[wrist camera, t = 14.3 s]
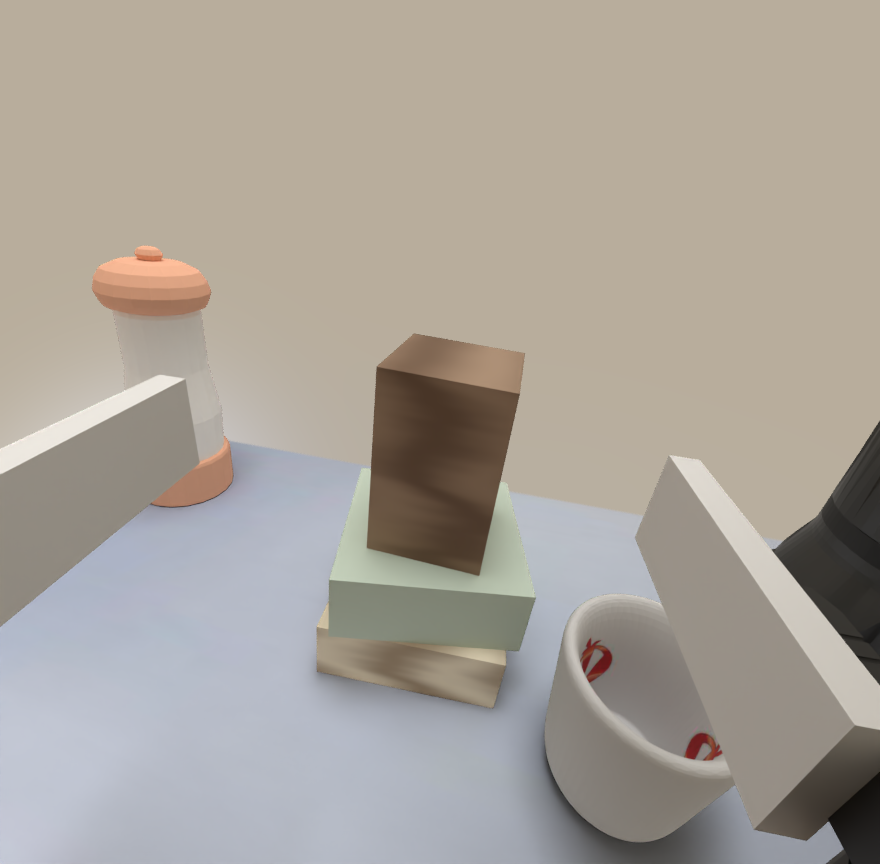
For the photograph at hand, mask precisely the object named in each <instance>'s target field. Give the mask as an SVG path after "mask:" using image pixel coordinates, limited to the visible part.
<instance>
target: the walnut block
mask: <svg viewBox="0 0 880 864" xmlns="http://www.w3.org/2000/svg"><path fill="white" fill-rule="evenodd" d="M524 356H525V353H520V352H514V351H509V350H504V349H498V348H492V347H487V346H481V345H475V344H470V343H464V342H459V341H453V340H447V339H442V338H436V337H431V336H425V335H419V334H413V335H412V336H411V337H410V338H408V339H407V340H406V341H405V342H404V343H403V344H402V345H401V346H400V347H398V348H397V349H396V350H395V351H394V352H393V353H392V354H390V355H389V356H388V357H387V358H386V359H385V360H384V361H383V362H381V363H380V364H379V365H378V366H377V372H376V390H375V407H374V424H373V443H372V460H371V478H370V496H369V514H368V532H367V548H369V549H373V550H377V551H381V552H385V553H389V554H393V555H397V556H401V557H405V558H409V559H413V560H417V561H421V562H425V563H429V564H433V565H437V566H441V567H445V568H449V569H453V570H457V571H461V572H465V573H469V574H473V575H477V576H479V575H480V570H481V566H482V561H483V557H484V552H485V548H486V543H487V539H488V534H489V530H490V525H491V521H492V516H493V512H494V507H495V503H496V498H497V494H498V489H499V485H500V480H501V475H502V471H503V466H504V462H505V458H506V453H507V449H508V444H509V440H510V435H511V431H512V426H513V421H514V417H515V413H516V408H517V404H518V399H519V395H520V387H521V380H522V372H523V364H524Z"/></svg>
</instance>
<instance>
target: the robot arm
mask: <svg viewBox="0 0 880 864" xmlns="http://www.w3.org/2000/svg"><path fill="white" fill-rule="evenodd" d="M199 463H200V461H199V455H198V450H197V444H196V438H195V432H194V426H193V420H192V414H191V408H190V403H189V397H188V391H187V385H186V379H184V378H178V377H171V376H165V375H157V376H155V377H153V378H151V379H149V380H147V381H145V382H142V383H140V384H138V385H136V386H134V387H132V388H130V389H127V390H125V391H123V392H121V393H119V394H117V395H115V396H113V397H110V398H108V399H106V400H104V401H102V402H99V403H97V404H95V405H93V406H91V407H89V408H87V409H85V410H82V411H80V412H78V413H76V414H74V415H72V416H69V417H68V418H65V419H63V420H61V421H59V422H57V423H54V424H52V425H50V426H48V427H46V428H44V429H42V430H39V431H37V432H35V433H33V434H31V435H29V436H27V437H25V438H22V439H20V440H18V441H16V442H14V443H12V444H9V445H7V446H5V447H3V448H1V449H0V627H1V626H2V625H3V624H4V623H6V622H7V621H8V620H9V619H10V618H12V617H13V616H14V615H15V614H17V613H18V612H19V611H20V610H21V609H23V608H24V607H25V606H26V605H28V604H29V603H30V602H31V601H32V600H34V599H35V598H36V597H37V596H39V595H40V594H41V593H42V592H43V591H45V590H46V589H47V588H48V587H50V586H51V585H52V584H53V583H54V582H56V581H57V580H58V579H59V578H60V577H62V576H63V575H64V574H65V573H67V572H68V571H69V570H70V569H71V568H73V567H74V566H75V565H76V564H78V563H79V562H80V561H81V560H82V559H84V558H85V557H86V556H87V555H89V554H90V553H91V552H92V551H93V550H95V549H96V548H97V547H98V546H99V545H101V544H102V543H103V542H104V541H106V540H107V539H108V538H109V537H110V536H112V535H113V534H114V533H115V532H117V531H118V530H119V529H120V528H121V527H123V526H124V525H125V524H126V523H128V522H129V521H130V520H131V519H132V518H134V517H135V516H136V515H137V514H139V513H140V512H141V511H142V510H143V509H145V508H146V507H147V506H148V505H149V504H151V503H152V502H153V501H154V500H156V499H157V498H158V497H159V496H160V495H162V494H163V493H164V492H165V491H167V490H168V489H169V488H170V487H171V486H173V485H174V484H175V483H176V482H178V481H179V480H180V479H181V478H182V477H184V476H185V475H186V474H187V473H189V472H190V471H191V470H192V469H193V468H195V467H196V466H197V465H198V464H199ZM635 539H636V541H637V544H638V546H639V549H640V551H641V554H642V556H643V559H644V561H645V563H646V566H647V568H648V571H649V573H650V576H651V578H652V581H653V583H654V586H655V588H656V590H657V593H658V595H659V598H660V600H661V603H662V605H663V608H664V610H665V613H666V615H667V617H668V620H669V622H670V625H671V627H672V630H673V632H674V635H675V637H676V640H677V642H678V645H679V647H680V649H681V652H682V654H683V657H684V659H685V662H686V664H687V667H688V669H689V672H690V674H691V676H692V679H693V681H694V684H695V686H696V689H697V691H698V694H699V696H700V699H701V701H702V703H703V706H704V708H705V711H706V713H707V716H708V718H709V721H710V723H711V726H712V728H713V730H714V733H715V735H716V738H717V740H718V743H719V745H720V748H721V750H722V753H723V755H724V757H725V760H726V762H727V765H728V767H729V770H730V772H731V775H732V777H733V780H734V782H735V784H736V787H737V789H738V792H739V794H740V797H741V799H742V802H743V804H744V807H745V809H746V811H747V814H748V816H749V819H750V821H751V824H752V826H753V829H754V830H758V831H763V832H768V833H772V834H777V835H782V836H787V837H791V838H796V839H801V840H806V841H807V840H808V839H809V838H810V837H812V836H813V835H814V834H815V833H816V832H817V831H818V830H819V829H821V828H822V827H823V826H824V825H825V824H826V823H827V822H828V821H829V822H830V824H831V826H832V827H833V829H834V831H835V833H836V835H837V837H838V839H839V841H840V842H841V844H842V846H843V848H844V850H842V851H841V852H840V853H839V854H837V855H836V856H835V857H834V858H832V859H831V860H830V861H829V862H828V863H826V864H880V422H879V423H878V425H877V426H876V428H875V429H874V431H873V432H872V434H871V435H870V437H869V438H868V440H867V441H866V443H865V445H864V446H863V448H862V450H861V451H860V453H859V454H858V455H857V457H856V458H855V460H854V461H853V463H852V464H851V466H850V467H849V469H848V471H847V472H846V473H845V475H844V476H843V478H842V479H841V481H840V482H839V484H838V485H837V487H836V488H835V490H834V491H833V493H832V495H831V496H830V498H829V499H828V501H827V503H826V504H825V505H824V507H823V509H822V510H821V511H820V513H819V514H818V516H817V517H816V518H814V519H813V520H812V521H810V522H809V523H807V524H806V525H804V526H803V527H801V528H800V529H799V530H797V531H796V532H795V533H793V534H792V535H791V536H789V537H788V538H787V539H785V540H784V541H783V542H782V543H781V544H780V545H779V546H778V547H777V548H776V549H772V550H771V549H770V547H769V546H768V545H767V544H766V542H765V541H764V540H763V539H762V537H761V536H760V535H759V534H758V532H757V531H756V530H755V529H754V527H752V525H751V524H750V522H749V521H748V520H747V519H746V517H745V516H744V515H743V514H742V513H741V511H740V510H739V509H738V507H737V506H736V505H735V504H734V502H733V501H732V500H731V499H730V497H729V496H728V495H727V494H726V492H725V491H724V490H723V489H722V488H721V486H720V485H719V484H718V482H717V481H716V480H715V479H714V478H713V476H712V475H711V474H710V472H709V471H708V470H707V469H706V468H705V466H704V465H703V464H702V463H701V461H700V460H696V459H690V458H684V457H678V456H671V455H669V456H668V459H667V461H666V464H665V466H664V469H663V471H662V474H661V476H660V478H659V481H658V483H657V486H656V488H655V490H654V493H653V495H652V498H651V500H650V502H649V505H648V507H647V510H646V512H645V515H644V517H643V519H642V522H641V524H640V527H639V529H638V532H637V534H636V536H635Z"/></svg>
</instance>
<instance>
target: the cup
mask: <svg viewBox="0 0 880 864" xmlns="http://www.w3.org/2000/svg"><path fill="white" fill-rule="evenodd" d="M545 748H546V754H547V758H548V762H549V765H550V768H551V771H552V774H553V776H554V778H555V780H556V782H557V784H558V786H559V788H560V790H561V791H562V793H563V794H564V796H565V797H566V799H567V800H568V801H569V803H570V804H571V805H572V806H573V808H574V809H575V810H576V811H577V812H578V813H579V814H580V815H581V816H582V817H583V818H584V819H585V820H587V821H588V822H589V823H590V824H592V825H593V826H594V827H596V828H597V829H599V830H601V831H602V832H604V833H606V834H608V835H610V836H612V837H615V838H618V839H621V840H624V841H629V842H650V841H654V840H657V839H660V838H663V837H665V836H667V835H669V834H671V833H672V832H674V831H675V830H677V829H678V828H679V827H681V826H682V825H683V824H685V823H686V822H687V821H689V820H690V819H691V818H692V817H694V816H695V815H696V814H698V813H699V812H700V811H701V810H703V809H704V808H705V807H707V806H708V805H709V804H711V803H712V802H713V801H714V800H716V799H717V798H718V797H720V796H721V795H722V794H724V793H725V792H726V791H727V790H729V789H730V788H731V787H733V786H734V785H735V782H734V780H733V777H732V775H731V772H730V770H729V767H728V765H727V762H726V760H725V757H724V755H723V753H722V750H721V748H720V745H719V743H718V740H717V738H716V735H715V733H714V730H713V728H712V726H711V723H710V721H709V718H708V716H707V713H706V711H705V708H704V706H703V703H702V701H701V699H700V696H699V694H698V691H697V689H696V686H695V684H694V681H693V679H692V676H691V674H690V672H689V669H688V667H687V664H686V662H685V659H684V657H683V654H682V652H681V649H680V647H679V645H678V642H677V640H676V637H675V635H674V632H673V630H672V627H671V625H670V622H669V620H668V617H667V615H666V613H665V610H664V608H663V605H662V603H659V602H656V601H653V600H650V599H648V598H644V597H639V596H635V595H628V594H607V595H601V596H597V597H594V598H591V599H590V600H588V601H586V602H584V603H583V604H581V605H580V606H579V607H578V608H577V609H576V610H575V611H574V612H573V613H572V615H571V616H570V618H569V620H568V622H567V624H566V627H565V630H564V633H563V638H562V643H561V647H560V652H559V657H558V661H557V666H556V671H555V676H554V680H553V685H552V690H551V694H550V699H549V704H548V708H547V714H546V720H545Z"/></svg>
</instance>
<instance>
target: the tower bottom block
mask: <svg viewBox="0 0 880 864" xmlns="http://www.w3.org/2000/svg"><path fill="white" fill-rule="evenodd" d="M328 626H329V601H328V603H327V606H326V608H325V610H324V612H323V614H322V616H321V619H320V621H319V623H318V625H317V672H322V673H327V674H332V675H336V676H341V677H346V678H351V679H355V680H360V681H365V682H370V683H374V684H379V685H384V686H388V687H393V688H398V689H403V690H407V691H412V692H417V693H422V694H426V695H431V696H436V697H441V698H445V699H450V700H455V701H460V702H464V703H469V704H474V705H479V706H483V707H488V708H493V707H494V704H495V701H496V697H497V694H498V691H499V687H500V684H501V681H502V677H503V674H504V671H505V667H506V650H495V649H483V648H470V647H457V646H444V645H432V644H419V643H406V642H393V641H380V640H368V639H355V638H342V637H329V636H328Z"/></svg>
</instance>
